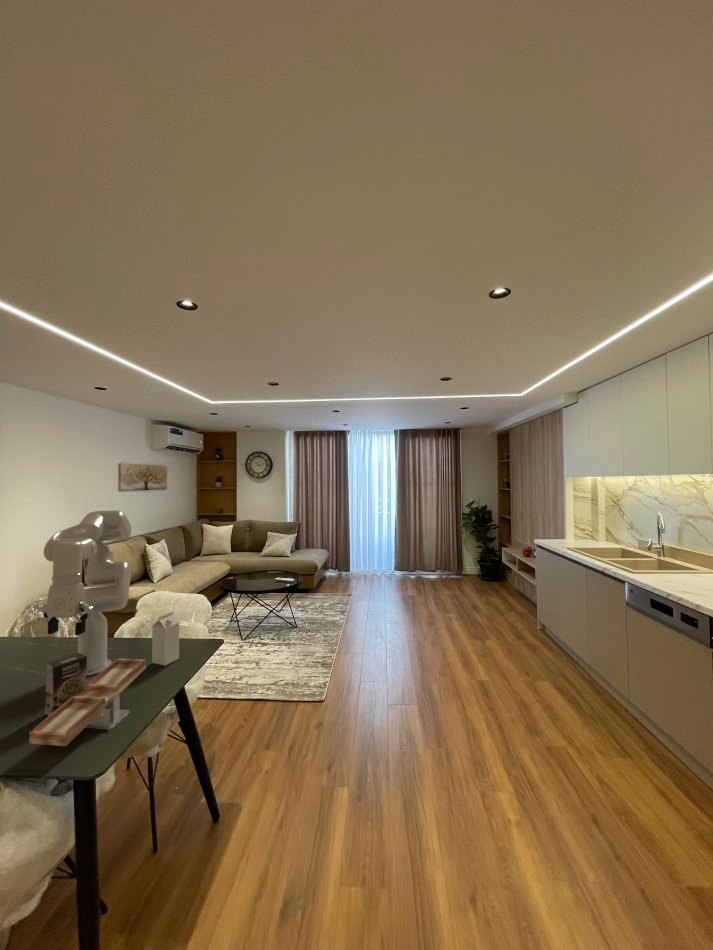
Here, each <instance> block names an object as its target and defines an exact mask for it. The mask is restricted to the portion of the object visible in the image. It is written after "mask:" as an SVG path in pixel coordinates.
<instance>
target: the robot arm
mask: <svg viewBox="0 0 713 950" xmlns="http://www.w3.org/2000/svg"><path fill="white" fill-rule="evenodd" d="M131 534H132V525H131V523H130V521H129V519H128V517H127V515H126V514H125V513H124V512H123V511H120V510H97V511H96V510H95V511H91V512H89V513H87V514H86V515H85V516H84V517H83V519H82V520H81V521H80V522H79V524H76V525H74V526H70V527H67V528H64V529H62V530H60V531H57V532H55V533H54V534H53V535H52V536H51V537H50V538H49V539H48V540H47V542H46V543H45V545H44V547H43V557H44V559H46V560H47V561H49V562H52V577H51V581H52V584H51V585H50V587H49V590H48V595H47V601H46V604H44V605H43V606H42V607H41V608H40V609H41V611H42V613H43V617H44V618H45V622H47V635H48V636H49V635H52V634H56V633H57V632H59V626H60V625H59V622H60V621H59V618H74V619H75V620H76V622H75V624H74V625H75V631H74V632H75V633H74V635H75V636H77V653H80V654H83V655H85V656H87V669H86V677H87V676H93V675H98V674H99V673H100V672H102V671H103V670H104V669H105V668H106V667H108V666H109V665H110V664H111V663H112V662H113V661H112V660H111V659H109V658H108V620H107V617H106V616H105V615H104V614H103V612H109V611H117V610H118V611H119V610H121V609H124V608H126V607H127V604H128V600H129V593H130V585H131V576H132V568H131V565H130V563H129V562H128V561H122V560H120V561H119V560H118V561H113V559H114V551H113V550H112V548H111V547H110V546H109V545H107V544H106V543H105V542H110V541H111V542H113V541H114V542H115V541H124V540H128V539H129V538H130V536H131ZM85 560H88V562H87V566H86V572H85V578H84V581H85V584H86V586H89V588H85V586H84V582H83V561H85Z"/></svg>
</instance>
